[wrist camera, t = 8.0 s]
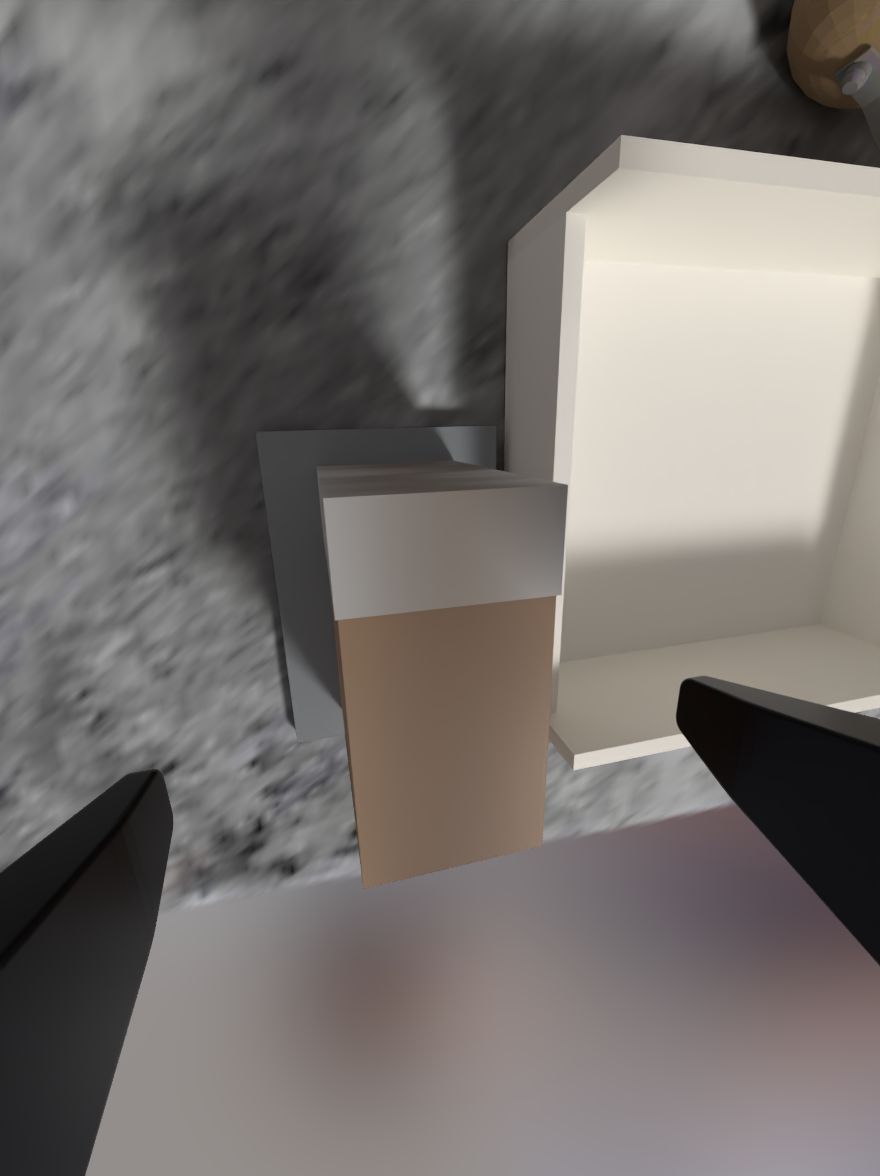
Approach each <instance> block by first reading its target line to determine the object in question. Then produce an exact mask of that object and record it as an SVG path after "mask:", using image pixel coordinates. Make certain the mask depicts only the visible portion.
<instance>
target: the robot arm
mask: <svg viewBox="0 0 880 1176" xmlns="http://www.w3.org/2000/svg"><path fill="white" fill-rule="evenodd" d="M676 723H677V726H678V728H679V730H680V731H681V733H682V734H683V735H684V737H685V738H686V739H687V741H688V742H689V743H690V745H691V746H692V747H693V749H694V750H695V751H696V753H697V754H698V755H699V757H700V758H701V759H702V761H703V762H704V763H705V765H706V766H707V767H708V769H709V770H710V771H711V773H712V774H713V775H714V777H715V778H716V779H717V781H718V782H719V783H720V785H721V786H722V787H723V789H724V790H725V791H726V792H727V794H728V795H729V796H730V798H731V799H732V800H733V801H734V802H735V803H736V805H737V806H738V807H739V808H740V809H741V810H742V812H743V813H744V814H745V815H746V816H747V817H748V818H749V819H750V821H751V822H752V823H753V824H754V825H755V826H756V827H757V828H758V830H759V831H760V832H761V833H762V834H763V835H764V836H765V838H766V839H767V840H768V841H769V842H770V843H771V844H772V845H773V847H775V849H776V850H777V851H778V852H779V853H780V854H781V855H782V856H783V858H784V859H785V860H786V861H787V862H788V863H789V865H790V866H791V867H792V868H793V869H794V870H795V871H796V872H797V873H798V874H799V876H800V877H801V878H802V879H803V880H804V881H805V883H806V884H807V885H808V886H809V887H810V888H811V889H812V890H813V892H814V893H815V894H816V895H817V896H818V897H819V898H820V899H821V901H823V903H824V904H825V905H826V906H827V907H828V908H829V910H830V911H831V912H832V913H833V914H834V915H835V916H836V917H837V918H838V920H839V921H840V922H841V923H842V924H843V925H844V926H845V928H846V929H847V930H848V931H849V932H850V933H851V934H852V935H853V937H854V938H855V939H856V940H857V941H858V942H859V943H860V944H861V945H862V947H863V948H864V949H865V950H866V951H867V952H868V953H869V954H870V956H871V957H872V958H873V959H874V960H875V961H876V962H877V964H878V965H879V966H880V719H877V718H873V717H869V716H865V715H861V714H857V713H853V712H849V711H845V710H841V709H837V708H833V707H829V706H825V705H821V704H817V703H813V702H809V701H805V700H801V699H797V698H793V697H789V696H785V695H781V694H777V693H773V692H769V691H765V690H761V689H757V688H753V687H749V686H745V685H741V684H737V683H733V682H729V681H725V680H721V679H717V678H713V677H709V676H697V677H692V678H687V679H685V680H683V681H682V683H681V685H680V690H679V696H678V703H677V710H676ZM172 831H173V813H172V809H171V805H170V801H169V797H168V793H167V789H166V784H165V780H164V777H163V775H162V773H161V771H159V770H157V769H152V770H146V771H140V772H134V773H129V774H127V775H126V776H124V777H123V778H121V779H120V780H119V781H118V782H116V783H115V784H114V785H112V786H111V787H110V788H109V789H107V790H106V791H105V792H103V793H102V794H101V795H100V796H98V797H97V798H96V799H94V800H93V801H92V802H91V803H89V804H88V805H87V806H85V807H84V808H83V809H82V810H80V811H79V812H78V813H76V814H75V815H74V816H73V817H71V818H70V819H69V820H67V821H66V822H65V823H64V824H62V825H61V826H60V827H58V828H57V829H56V830H55V831H53V832H52V833H51V834H49V835H48V836H47V837H46V838H44V839H43V840H42V841H40V842H39V843H38V844H37V845H35V846H34V847H33V848H31V849H30V850H29V851H28V852H26V853H25V854H24V855H22V856H21V857H20V858H19V859H17V860H16V861H15V862H13V863H12V864H11V865H10V866H8V867H7V868H6V869H4V870H3V871H2V872H1V873H0V1176H85V1174H86V1171H87V1167H88V1164H89V1161H90V1157H91V1154H92V1150H93V1147H94V1143H95V1140H96V1136H97V1133H98V1129H99V1126H100V1122H101V1119H102V1116H103V1112H104V1109H105V1105H106V1101H107V1098H108V1095H109V1091H110V1088H111V1085H112V1081H113V1078H114V1074H115V1071H116V1067H117V1064H118V1060H119V1057H120V1053H121V1050H122V1046H123V1043H124V1039H125V1036H126V1033H127V1029H128V1026H129V1022H130V1019H131V1015H132V1012H133V1008H134V1004H135V1001H136V998H137V994H138V991H139V988H140V984H141V981H142V977H143V974H144V970H145V967H146V963H147V960H148V956H149V953H150V949H151V945H152V941H153V937H154V932H155V927H156V922H157V917H158V911H159V905H160V900H161V894H162V888H163V883H164V877H165V871H166V866H167V860H168V854H169V849H170V843H171V837H172Z"/></svg>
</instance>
